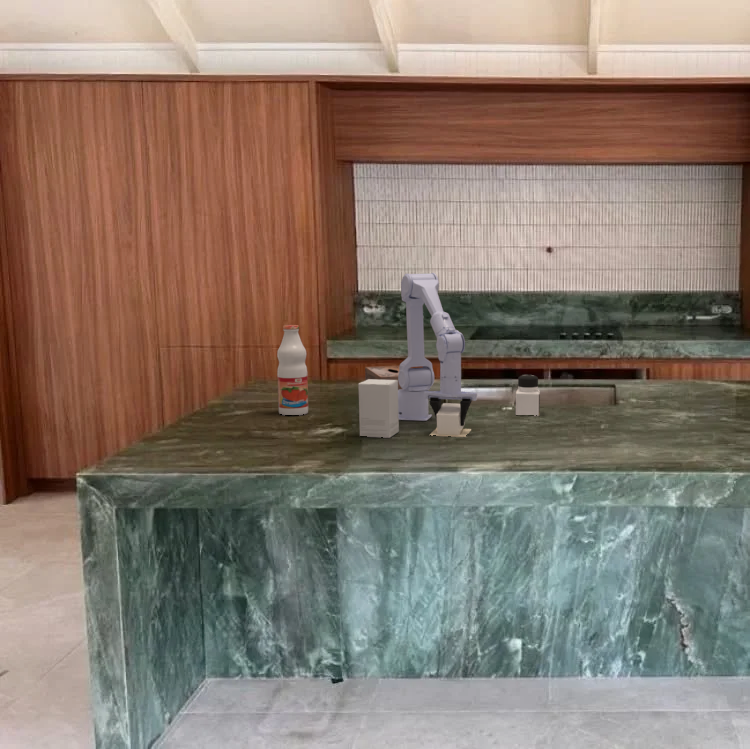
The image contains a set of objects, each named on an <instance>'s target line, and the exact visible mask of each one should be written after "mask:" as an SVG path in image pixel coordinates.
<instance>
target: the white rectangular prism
mask: <svg viewBox="0 0 750 749" xmlns="http://www.w3.org/2000/svg"><path fill="white" fill-rule="evenodd" d="M460 421H461V407H460V403H454V402H453V403H452V402H451V403H448V402H443V403H442V404H441V408H440V410H439V411H438V413H437V421H436V428H437V434H441V435H460V433H461V431H462V429H464V427H465V425H466V422H465V423H464V426H461V423H460Z"/></svg>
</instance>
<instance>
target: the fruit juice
mask: <svg viewBox="0 0 750 749" xmlns="http://www.w3.org/2000/svg"><path fill="white" fill-rule="evenodd" d="M282 329H283V330H282V331H283V337H282V340H281V343H280V346H279V348H278V349H277V354H276V355H277V356H276V357H277V360H278V366H277V399H278V403H277V404H278V413H279V415H280V414H282V415H281V416H285V415H299V416H303V414H304V415H307V414H308V413H309V388H308V367H307V365H306V359H307V350H306V348H305V346H304V344H303V342H302V339H301V336H300V334H299V330H300V327H299V325H298V324H284V325H283V327H282Z"/></svg>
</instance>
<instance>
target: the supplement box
mask: <svg viewBox="0 0 750 749" xmlns="http://www.w3.org/2000/svg"><path fill="white" fill-rule="evenodd" d="M357 385H358V410H359V411H358V414H359V415H358V416H359V421H358V422H359V437H360V436H367V437H366V438H381V437H383V438H384V439H390V438H391V437H393V436H394V435H396V434H397V433H399V432H400V426H399V421H400V420H399V417H398V380H377V379H368V380H366V381H365V380H364V381H361V382H359V383H357ZM383 438H382V439H383Z"/></svg>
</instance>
